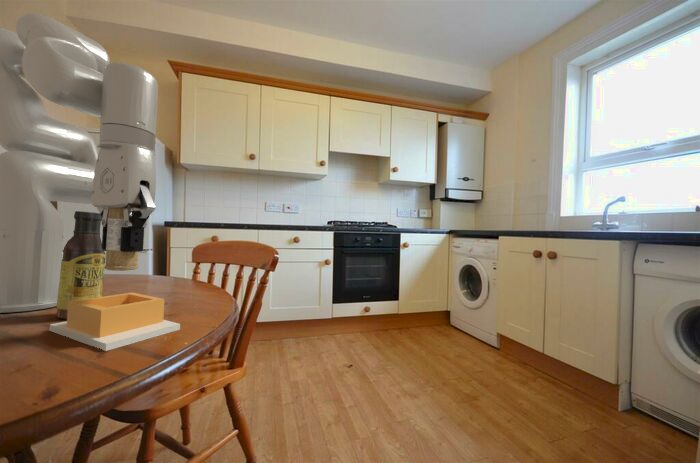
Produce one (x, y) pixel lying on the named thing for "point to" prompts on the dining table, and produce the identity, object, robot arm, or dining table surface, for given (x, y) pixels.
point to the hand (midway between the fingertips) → (122, 249)
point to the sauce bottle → (82, 263)
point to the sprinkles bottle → (118, 243)
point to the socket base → (115, 320)
